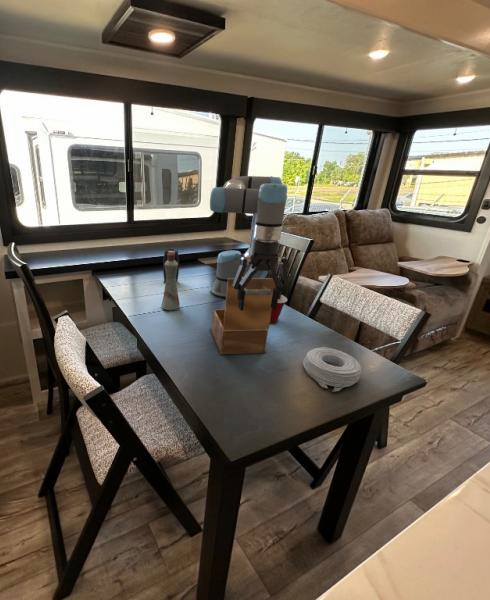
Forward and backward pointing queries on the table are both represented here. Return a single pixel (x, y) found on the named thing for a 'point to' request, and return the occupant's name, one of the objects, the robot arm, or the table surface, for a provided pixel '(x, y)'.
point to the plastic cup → (277, 309)
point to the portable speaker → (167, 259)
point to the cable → (332, 368)
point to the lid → (249, 305)
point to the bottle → (170, 284)
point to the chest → (236, 337)
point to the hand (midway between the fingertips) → (257, 308)
